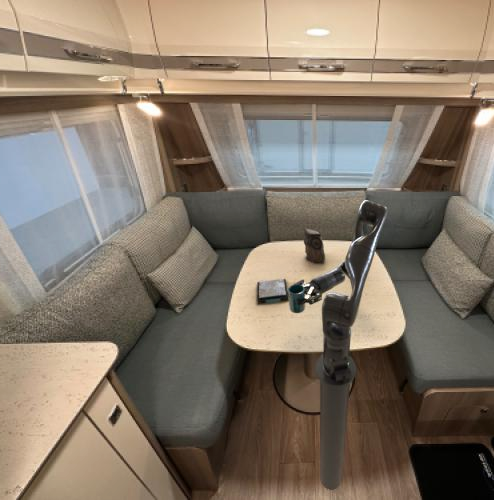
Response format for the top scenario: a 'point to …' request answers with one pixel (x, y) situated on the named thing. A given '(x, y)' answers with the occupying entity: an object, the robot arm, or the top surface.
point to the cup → (296, 298)
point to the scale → (271, 291)
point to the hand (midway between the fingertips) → (292, 299)
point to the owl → (314, 246)
